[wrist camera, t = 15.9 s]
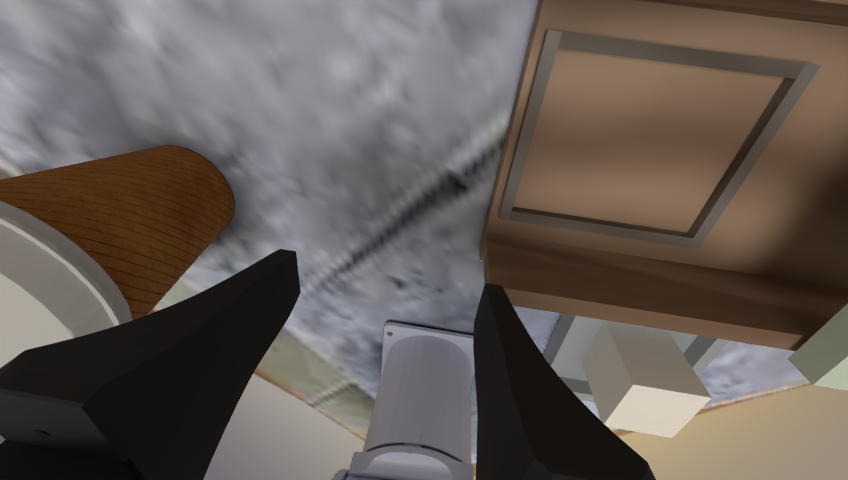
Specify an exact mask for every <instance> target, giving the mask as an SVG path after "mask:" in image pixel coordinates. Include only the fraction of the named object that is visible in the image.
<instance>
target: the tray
mask: <svg viewBox="0 0 848 480" xmlns="http://www.w3.org/2000/svg"><path fill="white" fill-rule="evenodd" d="M604 322H609V323H615V324H621V325H627V326H633V327H639V328H645V329H651V330H657V331H663V332H669V333H670V335H671V336H672V338H673V339H674V341H675V343H676V344H677V346H678V347H679V349H680V350H681V352H682V353H683V355H684V356H685V358H686V359H687V361H688V362H689V364H690V365H691V367H692V369H693V370H694V372H695V373H696V375H697V376H699V375H700V373H701V372H702V371H703V370H704V369H705V368H706V367H707V366H708V364H709V363H710V362H711V361H712V360H713V359H714V358H715V357H716V356H717V354H718V353H719V352H720V351H721V350H722V349H723V348H724V347H725V345H726V344H727V343H728V342H729V341H730V340H724V339H718V338H712V337H706V336H699V335H693V334H687V333H681V332H675V331H668V330H662V329H656V328H650V327H644V326H637V325H631V324H625V323H619V322H613V321H607V320H600V319H594V318H588V317H582V316H576V315H569V314H563V313H562V314H561V316H560V318H559V321H558V323H557V325H556V327H555V329H554V331H553V334H552V336H551V338H550V340H549V342H548V345H547V347H546V349H545V351H544V353H543V356H544V358H545V359H546V360H547V362H548V363H549V364H550V366H551V367H552V368H553V370H554V371H555V372H556V373H557V375H558V376H559V377H560V378H561V379H562V381H563V382H564V383H565V384H566V385H567V386H568V388H569V389H570V390H571V391H572V392H573V393H574V394H575V395H576V396H577V397H578V398H579V399H580V400H586V401H592V402H595V401H594V398H593V395H592V392H591V389H590V386H589V383H588V380H587V377H586V374H585V371H584V368H583V365H582V360H583V359H584V357H585V355H586V353H587V352H588V350H589V348H590V346H591V345H592V343H593V341H594V340H595V338H596V336H597V334H598V333H599V331H600V329H601V327H602V326H603V324H604Z"/></svg>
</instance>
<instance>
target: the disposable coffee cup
mask: <svg viewBox="0 0 848 480" xmlns="http://www.w3.org/2000/svg"><path fill="white" fill-rule="evenodd" d="M233 213H234V199H233V196H232V193H231V190H230V188H229V186H228V184H227V182H226V180H225V179H224V177H223V176H222V175H221V173H220V172H219V171H218V170H217V169H216V168H215V167H214V166H213V165H212V164H211V163H210V162H208V161H207V160H206V159H205V158H203V157H201V156H200V155H198V154H197V153H195V152H193V151H190V150H188V149H185V148H182V147H178V146H167V145H166V146H160V147H156V148H151V149H146V150H141V151H137V152H132V153H127V154H122V155H117V156H113V157H107V158H103V159H98V160H93V161H88V162H83V163H79V164H73V165H69V166H64V167H59V168H54V169H50V170H45V171H39V172H36V173H31V174H26V175H22V176H17V177H12V178H7V179H2V180H0V368H1V367H3V366H4V365H5V364H7V363H8V362H9V361H11V360H12V359H14V358H15V357H16V356H18V355H19V354H20V353H22V352H23V351H25V350H28V349H32V348H36V347H41V346H45V345H49V344H53V343H57V342H61V341H65V340H69V339H73V338H76V337H80V336H84V335H87V334H91V333H94V332H98V331H101V330H104V329H108V328H111V327H114V326H117V325H120V324H123V323H126V322H129V321H132V320H135V319H138V318H140V317H143V316H146V315H148V313H149V312H150V311H151V310H152V309H153V308H154V307H155V306H156V304H157V303H158V302H159V301H160V300H161V299H162V298H163V297H164V295H165V294H166V293H167V292H168V291H169V290H170V289H171V287H172V286H173V285H174V284H175V283H176V282H177V281H178V280H179V278H180V277H181V276H182V275H183V274H184V273H185V272H186V270H187V269H188V268H189V267H190V266H191V265H192V263H194V262H195V261H196V259H197V258H198V256H200V255H201V253H202V252H203V251H204V250H205V249H206V248H207V247H208V246H209V244H210V243H211V242H212V241H213V240H214V238H216V236H217V235H218V234H219V233H220V232H221V231H222V230H223V229H224V227H225V226H227V224H228V223H229V222H230V221H231V219H232V217H233Z"/></svg>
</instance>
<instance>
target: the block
mask: <svg viewBox="0 0 848 480" xmlns="http://www.w3.org/2000/svg"><path fill="white" fill-rule="evenodd" d="M582 365H583V368H584V371H585V374H586V377H587V380H588V383H589V386H590V389H591V392H592V395H593V398H594V401H595V404H596V407H597V410H598V413H599V416H600V419H601V422H602V423H603V424H605V425H606V426H607V427H613V428H619V429H624V430H630V431H636V432H642V433H648V434H653V435H659V436H664V437H670V438H673V437H674V436H675V435H676V433H677V432H678V431H679V430H680V429H681V428H682V427H683V426H684V425H685V424H686V423H687V422H688V421H689V420H690V419H691V418H692V417H693V416H694V415H695V414H696V413H697V412H698V411H699V410H700V409H701V408H702V407H703V406H704V405H705V404H706V403H707V402H708V401H709V400H710V399H711V396H710V394H709V393H708V391H707V390H706V388H705V387H704V385H703V384H702V382H701V381H700V379H699V378H698V376H697V375H696V373H695V372H694V370H693V369H692V367H691V365H690V364H689V362H688V361H687V359H686V358H685V356H684V355H683V353H682V352H681V350H680V349H679V347H678V346H677V344H676V343H675V341H674V339H673V338H672V336H671V335H670V333H669V332H663V331H657V330H651V329H645V328H639V327H633V326H627V325H621V324H615V323H609V322H604V324H603V326H602V327H601V329H600V331H599V333H598V334H597V336H596V338H595V340H594V341H593V343H592V345H591V346H590V348H589V350H588V352H587V353H586V355H585V357H584V359H583V360H582Z"/></svg>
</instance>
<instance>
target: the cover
mask: <svg viewBox="0 0 848 480" xmlns="http://www.w3.org/2000/svg"><path fill="white" fill-rule="evenodd" d="M788 359H789V360H790V362H791V363H792V364H793V365H794V366H795V367H796V368H797V369H798V370H799V371H800V372H801V373H802V374H803V375H804V376H805V377H806V378H807V379H808V380H809V381H810V382H811V383H812V384H813V385H817V386H823V387H829V388H835V389H841V390H848V304H847V305H845V306H844V307H843V308H842V309H841V310H840V311H839V312H838V313H837V314H836V315H835V316H834V317H833V318H831V319H830V320H829V321H828V322H827V323H826V324H825V325H824V326H823V327H822V328H821V329H820V330H819V331H817V332H816V333H815V334H814V335H813V336H812V337H811V338H810V339H809V340H808V341H807V342H806V343H804V344H803V345H802V346H801V347H800V348H799V349H798V350H797V351H796V352H795V353H794V354H793V355H792V356H790V357H789V358H788Z"/></svg>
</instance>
